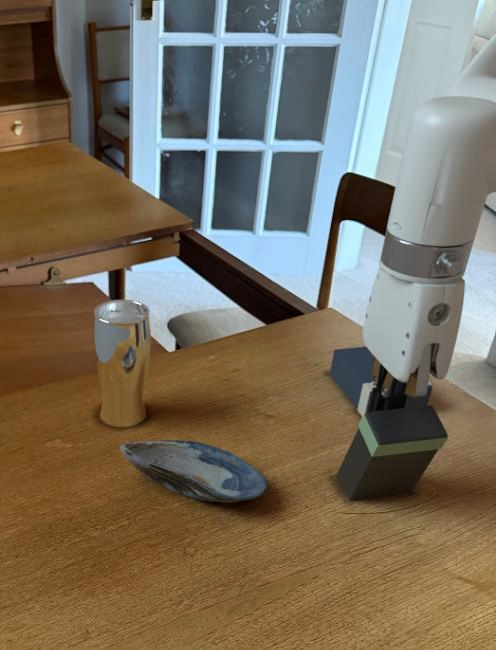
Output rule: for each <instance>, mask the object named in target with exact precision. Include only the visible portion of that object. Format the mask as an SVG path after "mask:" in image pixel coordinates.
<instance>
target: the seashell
mask: <svg viewBox="0 0 496 650" xmlns="http://www.w3.org/2000/svg"><path fill="white" fill-rule="evenodd" d="M119 451H120V453H121V455H122V456H123V457H124V458H125V459H126V460H127V462H129V463H130V465H132V467H134V468H135V469H136V470H137V471H138V472H139V473H141V474H142V475H143V476H145V477H146V478H147V479H148V480H150V481H151V482H153V483H155V484H156V485H159V486H161V487H164V488H165V489H168V490H170V491H172V492H174V493H176V494H178V495H181V496H183V497H187V498H190V499H194V500H198V501H203V502H219V503H237V502H240V501H249V500H253V499H257V498H259V497H261V496H262V495H263V494H264V493H265V491H267V489H268V482H267V479H266V477H265V475H264V474H263V473H261V472H260V471H259V470H258V469H256V468H255V467H254V466H253V465H251V464H249V462H247V461H245V460H244V459H243V458H240V457H239V456H237V455H235V454H234V453H233V452H230V451H228V450H224V449H222V448H220V447H216V446H214V445H211V444H207V443H203V442H198V441H192V440H184V439H183V440H182V439H179V440H178V439H176V440H175V439H173V440H171V439H159V440H155V439H153V440H148V441H135V442H125V443H122V444H121V445H120V446H119ZM199 478H200V479H202V480H204V481H202V480H200V479H199ZM205 482H206V483H205ZM207 483H208V484H207Z"/></svg>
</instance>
